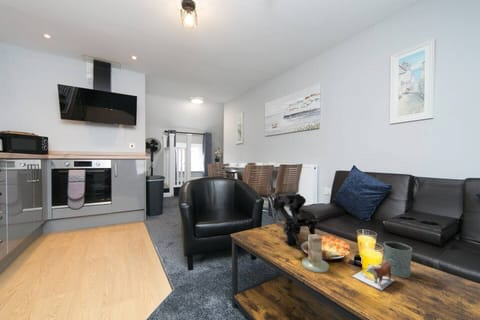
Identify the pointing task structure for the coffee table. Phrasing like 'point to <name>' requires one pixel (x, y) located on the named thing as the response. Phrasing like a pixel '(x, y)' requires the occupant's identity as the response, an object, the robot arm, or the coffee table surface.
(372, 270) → the bull figurine
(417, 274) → the coffee table surface
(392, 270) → the grey green pot
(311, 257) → the birch block
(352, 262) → the black recessed tray
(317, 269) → the saucer
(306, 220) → the robot arm
